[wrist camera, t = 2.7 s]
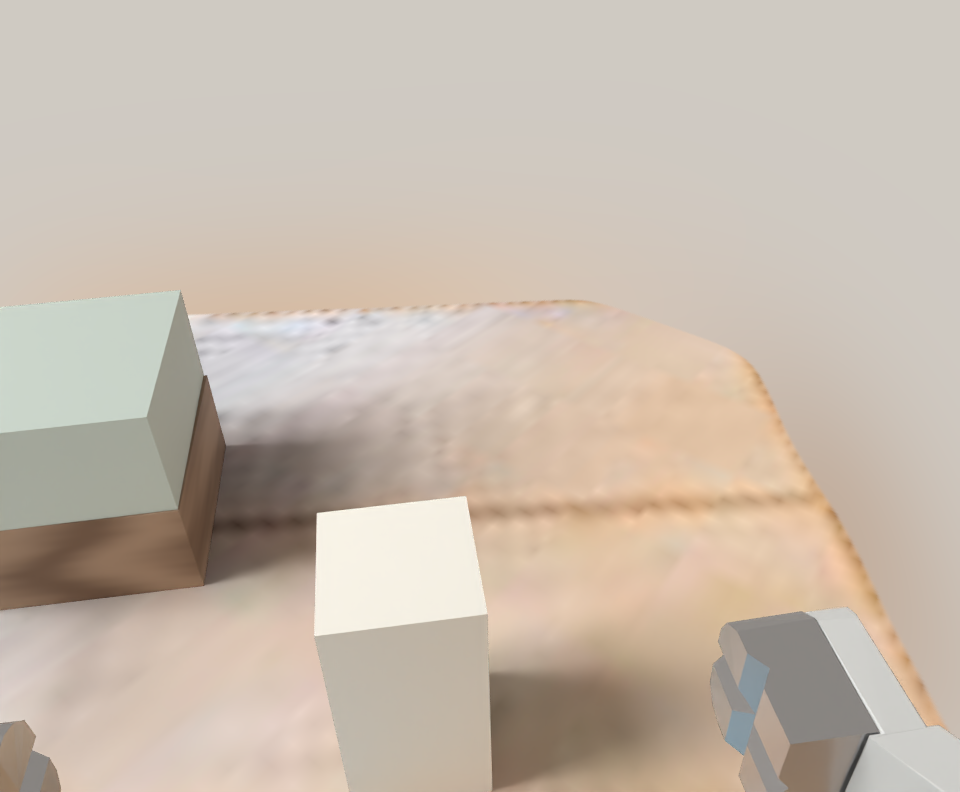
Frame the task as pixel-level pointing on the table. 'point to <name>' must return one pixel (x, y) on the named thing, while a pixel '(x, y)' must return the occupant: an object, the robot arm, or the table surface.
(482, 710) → the tall block
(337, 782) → the table surface
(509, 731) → the table surface
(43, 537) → the tower bottom
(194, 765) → the table surface
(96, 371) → the tower top
